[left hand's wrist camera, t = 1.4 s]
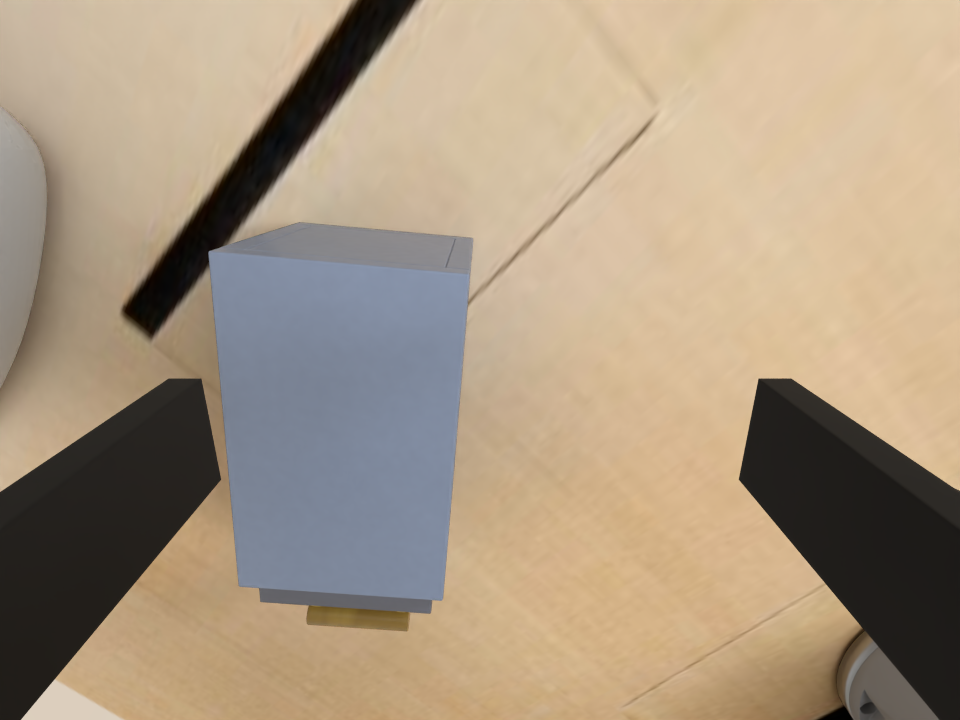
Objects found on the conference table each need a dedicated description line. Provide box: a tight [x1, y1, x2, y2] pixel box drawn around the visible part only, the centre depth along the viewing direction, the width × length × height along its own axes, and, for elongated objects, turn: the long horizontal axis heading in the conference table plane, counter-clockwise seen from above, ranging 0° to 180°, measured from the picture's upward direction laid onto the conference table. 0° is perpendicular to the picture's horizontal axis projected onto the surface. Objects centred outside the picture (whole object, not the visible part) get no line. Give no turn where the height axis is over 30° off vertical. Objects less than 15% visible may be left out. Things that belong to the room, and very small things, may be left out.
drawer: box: [259, 588, 432, 631], centre depth 31 cm, size 21×9×9 cm, turn 175°
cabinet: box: [208, 222, 473, 601], centre depth 30 cm, size 17×11×11 cm, turn 175°
